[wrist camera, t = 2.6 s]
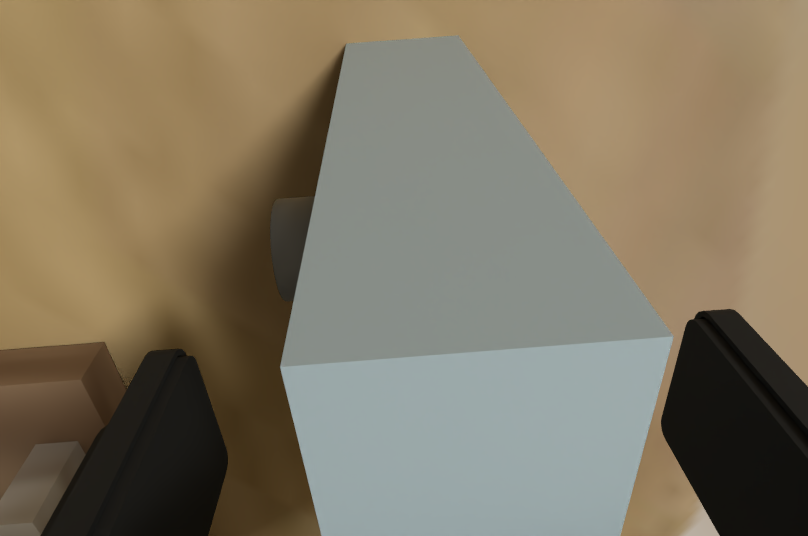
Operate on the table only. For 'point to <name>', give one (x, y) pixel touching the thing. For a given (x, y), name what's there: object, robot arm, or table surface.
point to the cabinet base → (49, 425)
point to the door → (456, 317)
